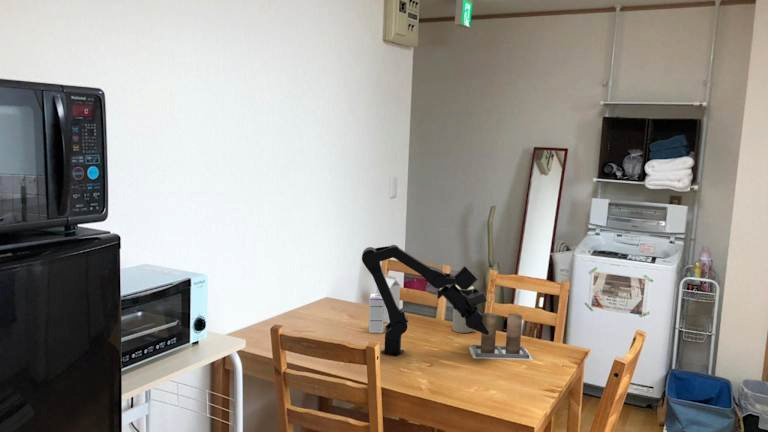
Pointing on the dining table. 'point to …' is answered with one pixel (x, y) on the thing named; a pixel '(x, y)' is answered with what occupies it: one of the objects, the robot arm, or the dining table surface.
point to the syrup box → (376, 314)
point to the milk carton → (395, 292)
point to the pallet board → (499, 353)
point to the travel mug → (457, 319)
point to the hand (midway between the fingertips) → (486, 330)
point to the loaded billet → (513, 333)
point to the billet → (489, 339)
